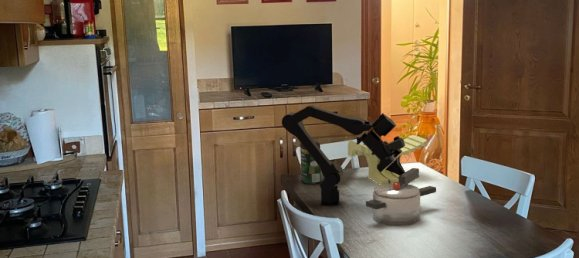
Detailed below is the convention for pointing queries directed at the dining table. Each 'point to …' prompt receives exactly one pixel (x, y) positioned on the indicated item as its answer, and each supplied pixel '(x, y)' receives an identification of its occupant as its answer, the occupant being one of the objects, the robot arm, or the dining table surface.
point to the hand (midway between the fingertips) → (406, 176)
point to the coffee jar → (309, 167)
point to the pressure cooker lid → (400, 186)
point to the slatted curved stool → (373, 161)
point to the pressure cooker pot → (398, 208)
